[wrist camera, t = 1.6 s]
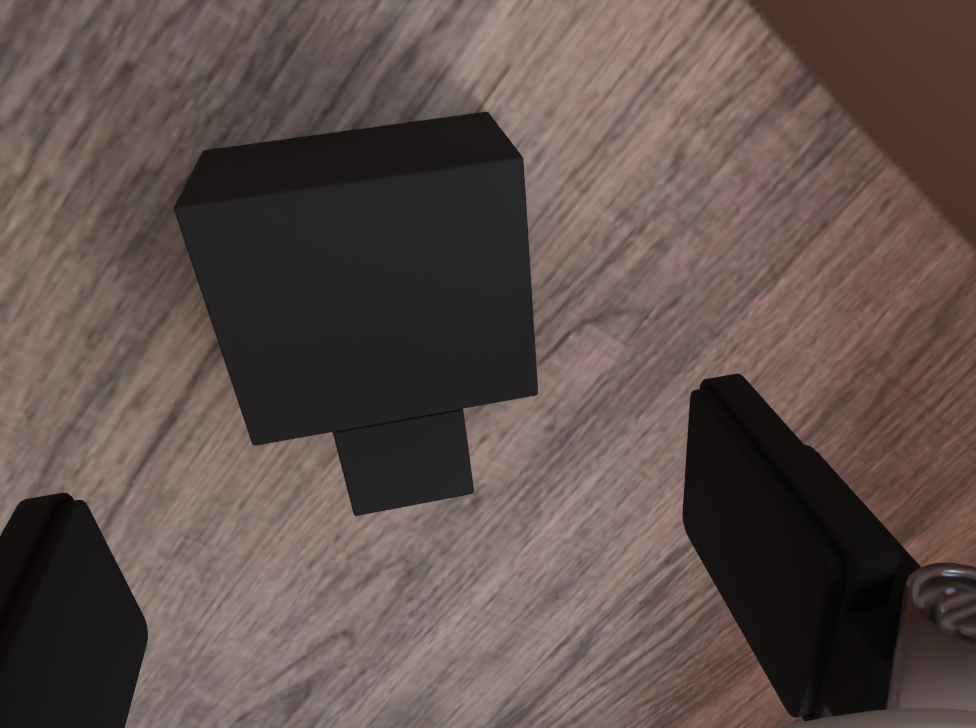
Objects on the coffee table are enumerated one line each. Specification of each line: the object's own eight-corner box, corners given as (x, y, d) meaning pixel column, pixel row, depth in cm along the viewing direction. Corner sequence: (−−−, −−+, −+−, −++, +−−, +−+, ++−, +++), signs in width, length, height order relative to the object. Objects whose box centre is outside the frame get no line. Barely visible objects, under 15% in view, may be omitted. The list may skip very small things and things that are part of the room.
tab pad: (202, 150, 18) (172, 207, 14) (488, 110, 18) (523, 156, 15) (288, 438, 22) (280, 531, 19) (513, 398, 23) (544, 481, 20)
